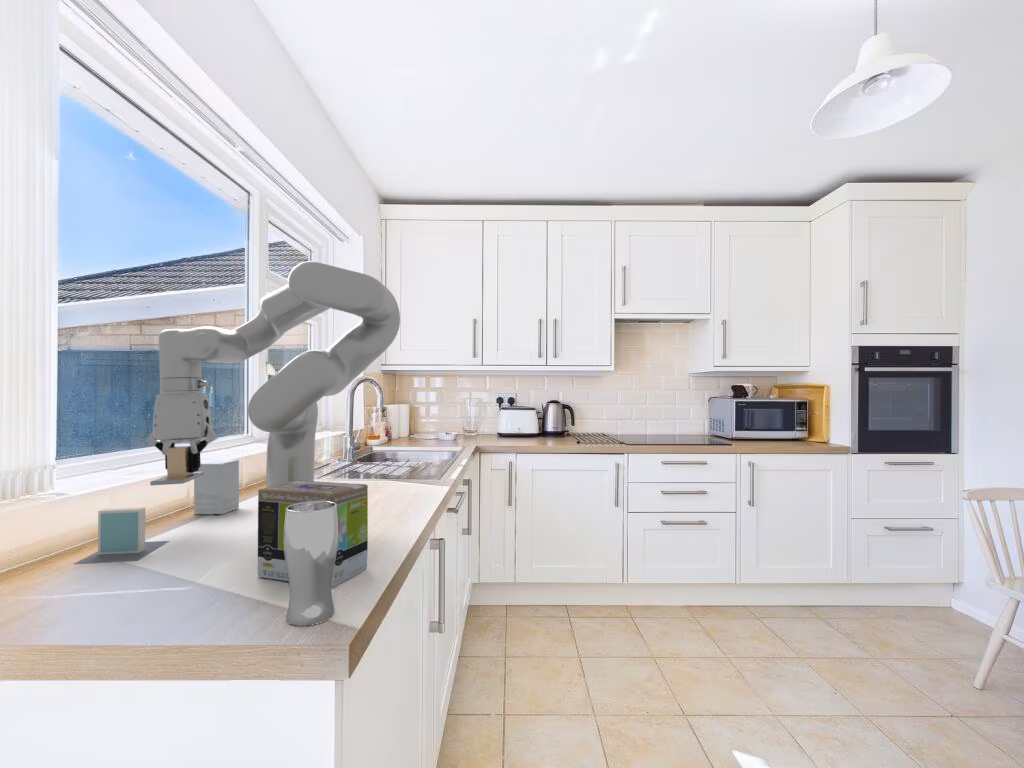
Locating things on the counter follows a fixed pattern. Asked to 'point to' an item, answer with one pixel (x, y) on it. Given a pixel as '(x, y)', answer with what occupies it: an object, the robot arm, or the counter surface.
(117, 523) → the tile
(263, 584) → the counter surface
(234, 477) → the supplement box
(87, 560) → the mat
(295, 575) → the beer glass
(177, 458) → the trowel
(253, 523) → the counter surface
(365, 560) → the tea box
